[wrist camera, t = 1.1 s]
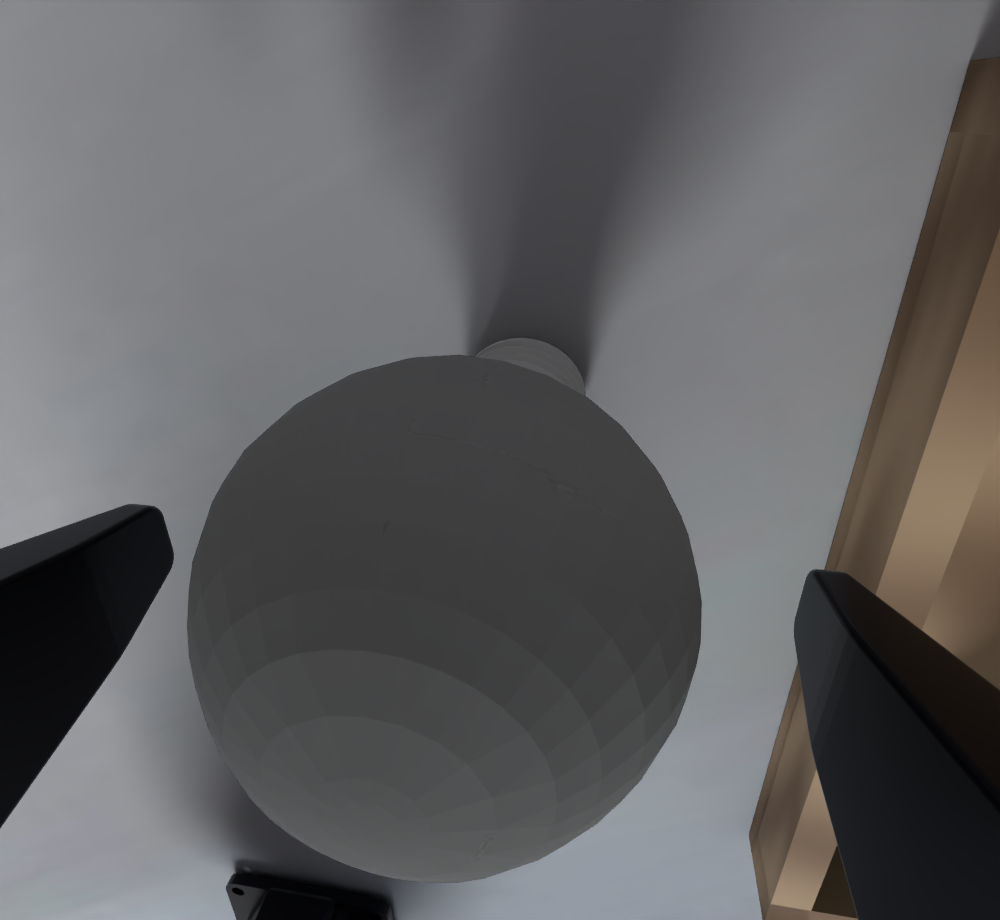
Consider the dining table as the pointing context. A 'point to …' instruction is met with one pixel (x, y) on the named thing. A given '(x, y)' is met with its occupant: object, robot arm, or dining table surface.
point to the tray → (913, 491)
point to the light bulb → (443, 615)
